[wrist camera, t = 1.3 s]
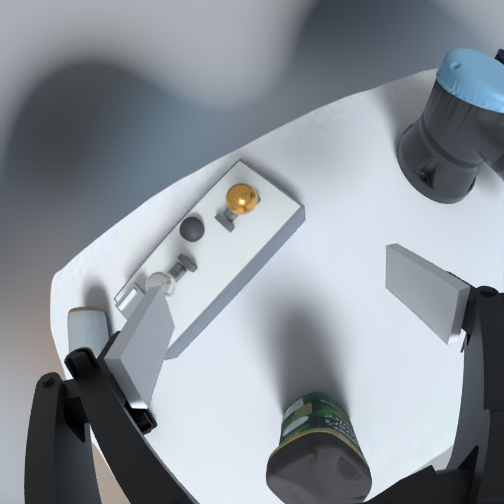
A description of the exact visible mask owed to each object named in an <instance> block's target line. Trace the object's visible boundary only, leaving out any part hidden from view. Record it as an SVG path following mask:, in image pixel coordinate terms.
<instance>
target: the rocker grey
mask: <svg viewBox="0 0 504 504" xmlns="http://www.w3.org/2000/svg"><path fill="white" fill-rule="evenodd" d="M145 294H146V292H145V291H144V290H143V289H142V288H141V287H140V286H139V285H138V283H133V284H132V285H131V286H130V287H129V289H128V290H127V291H126V292H125V294H124V295H123V296H122V297H121V299H120V300H119V301H118V302H117V304H116V305H115V306H116V307H117V309H118V310H119V311H120V312H121V313H122V315H123V316H124V317H125V318H126V319H127V320H128V319H129V318H130V316H131V315H132V313H133V311H134V310H135V308H136V307H137V305H138V304H139V302H140V301H141V299H142V298H143V296H144V295H145Z"/></svg>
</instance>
